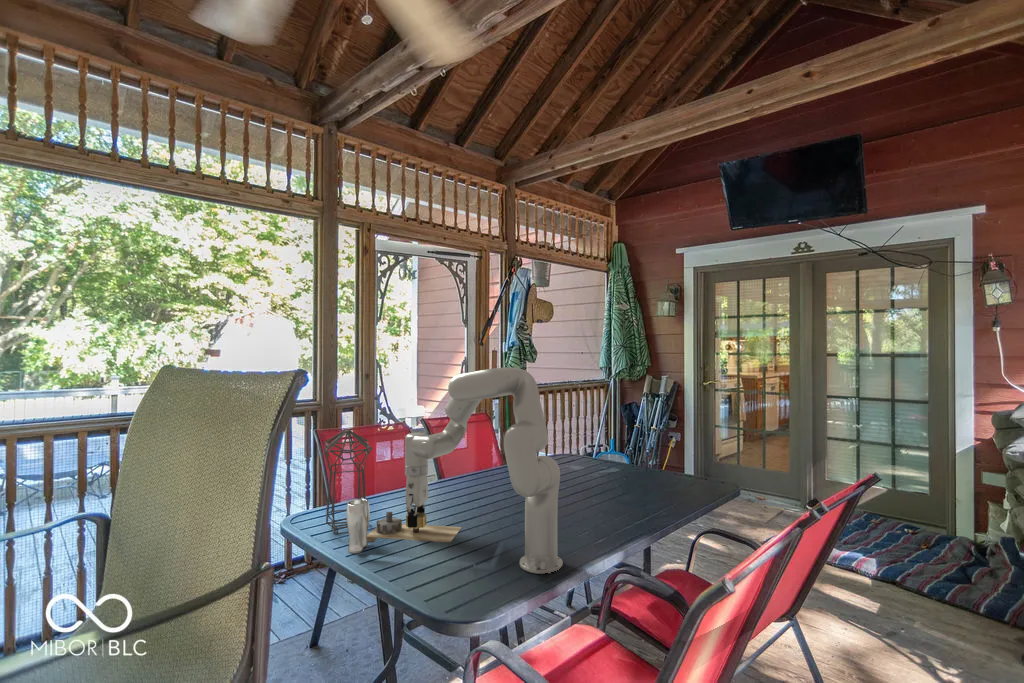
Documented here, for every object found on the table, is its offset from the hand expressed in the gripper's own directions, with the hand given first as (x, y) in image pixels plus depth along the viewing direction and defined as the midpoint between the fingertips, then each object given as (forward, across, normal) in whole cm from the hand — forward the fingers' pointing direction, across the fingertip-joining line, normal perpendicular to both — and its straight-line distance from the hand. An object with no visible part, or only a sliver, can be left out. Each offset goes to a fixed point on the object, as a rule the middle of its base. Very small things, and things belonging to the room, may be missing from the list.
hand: (416, 522), depth 174 cm
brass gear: (+1, 0, 0) cm, 1 cm away
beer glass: (+5, -14, +14) cm, 20 cm away
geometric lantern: (+5, +2, +26) cm, 27 cm away
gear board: (+5, 0, +1) cm, 5 cm away
